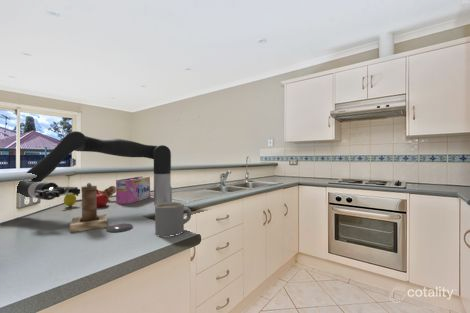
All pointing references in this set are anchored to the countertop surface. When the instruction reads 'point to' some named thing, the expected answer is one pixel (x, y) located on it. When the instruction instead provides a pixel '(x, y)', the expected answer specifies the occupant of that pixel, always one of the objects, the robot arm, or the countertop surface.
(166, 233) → the coffee mug
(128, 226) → the coaster
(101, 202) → the pomegranate
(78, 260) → the countertop surface
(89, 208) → the pepper mill
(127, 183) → the gum box
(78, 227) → the holder
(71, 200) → the lemon
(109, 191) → the lion figurine
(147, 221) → the countertop surface
